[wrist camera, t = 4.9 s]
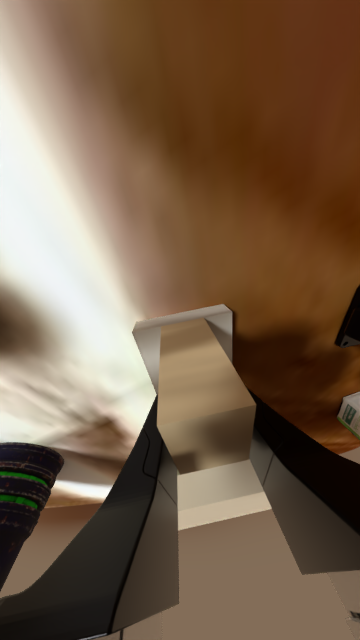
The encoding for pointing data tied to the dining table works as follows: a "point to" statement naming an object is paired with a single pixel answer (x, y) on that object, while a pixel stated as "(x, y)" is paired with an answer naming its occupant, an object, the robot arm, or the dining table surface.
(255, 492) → the cream bridge block
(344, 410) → the syrup box
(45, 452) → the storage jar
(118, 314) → the dining table surface
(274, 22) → the dining table surface
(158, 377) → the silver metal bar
